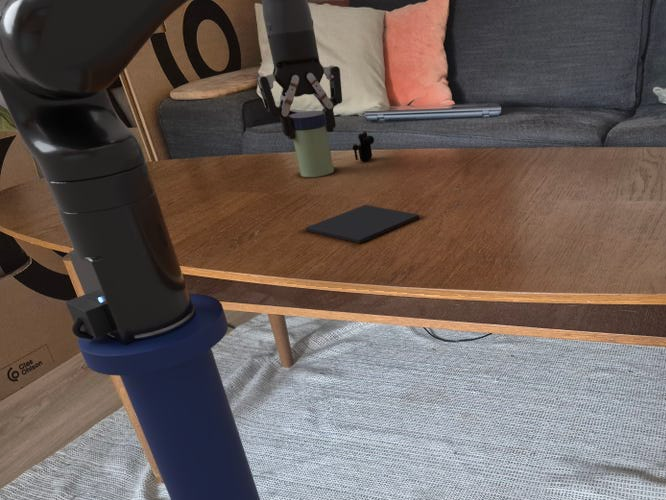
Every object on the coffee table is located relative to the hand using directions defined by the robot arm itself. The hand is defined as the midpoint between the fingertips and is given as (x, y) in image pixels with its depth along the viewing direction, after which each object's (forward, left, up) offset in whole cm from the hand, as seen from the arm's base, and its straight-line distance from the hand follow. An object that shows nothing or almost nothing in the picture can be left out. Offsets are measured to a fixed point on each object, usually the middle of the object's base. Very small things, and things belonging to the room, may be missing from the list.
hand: (310, 134), depth 117 cm
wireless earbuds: (+10, -2, -7) cm, 12 cm away
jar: (0, 0, -7) cm, 7 cm away
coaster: (-17, -30, -7) cm, 35 cm away
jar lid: (0, 0, +3) cm, 3 cm away
